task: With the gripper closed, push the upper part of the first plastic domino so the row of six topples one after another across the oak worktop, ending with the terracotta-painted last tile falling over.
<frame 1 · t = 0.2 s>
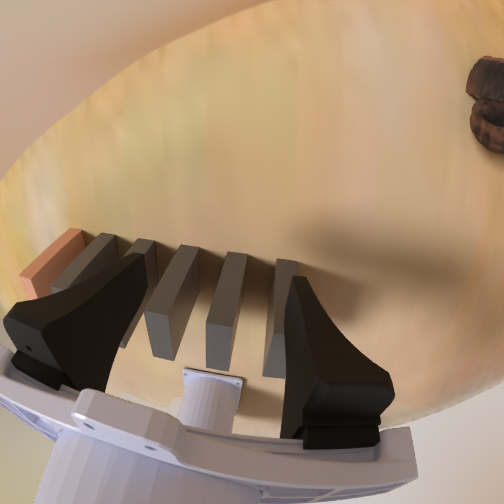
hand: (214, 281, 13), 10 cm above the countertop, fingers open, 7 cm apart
domino 4: (148, 262, 26), on the countertop
domino 3: (190, 269, 26), on the countertop
domino 6: (80, 249, 26), on the countertop
domino 5: (111, 255, 26), on the countertop
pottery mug: (492, 111, 15), on the countertop
domino 1: (281, 282, 25), on the countertop
domino 2: (235, 276, 26), on the countertop
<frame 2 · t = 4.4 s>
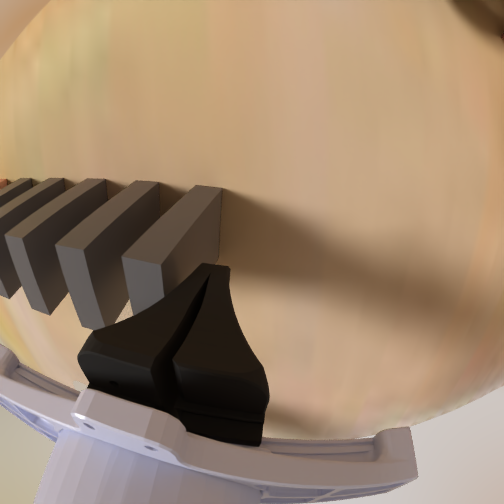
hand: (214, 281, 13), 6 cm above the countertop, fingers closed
domino 4: (60, 207, 19), on the countertop
domino 3: (99, 210, 19), on the countertop
domino 6: (6, 203, 19), on the countertop
domino 5: (30, 204, 19), on the countertop
domino 1: (207, 223, 18), on the countertop
domino 2: (149, 215, 18), on the countertop
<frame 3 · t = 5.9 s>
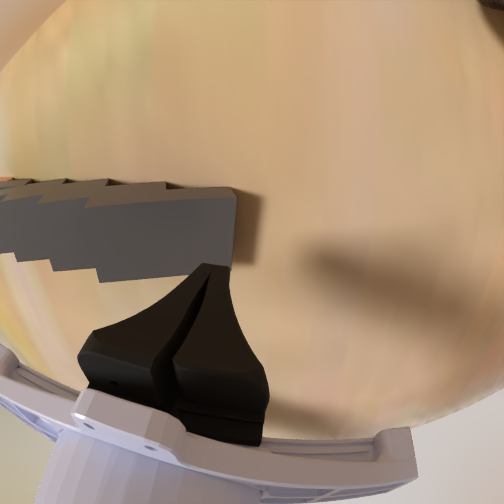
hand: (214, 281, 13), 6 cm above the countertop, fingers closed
domino 4: (68, 212, 18), point 1 cm above the countertop, tilted 67°, touching domino 3
domino 3: (110, 216, 18), point 1 cm above the countertop, tilted 66°, touching domino 2, domino 4
domino 5: (31, 210, 18), point 1 cm above the countertop, tilted 73°, touching domino 6
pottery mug: (496, 0, 6), on the countertop
domino 1: (230, 229, 18), point 1 cm above the countertop, tilted 66°, touching domino 2
domino 2: (166, 222, 18), point 1 cm above the countertop, tilted 67°, touching domino 1, domino 3
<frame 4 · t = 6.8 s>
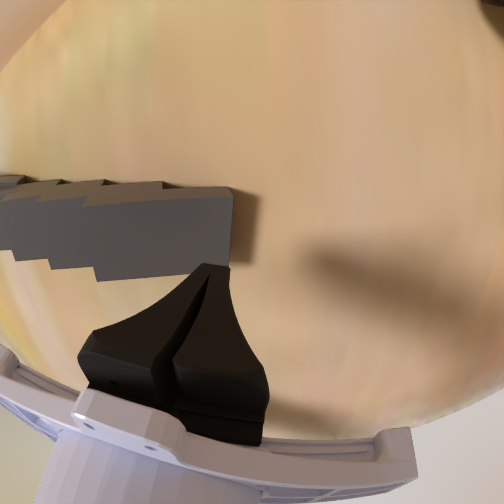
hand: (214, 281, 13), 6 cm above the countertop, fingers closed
domino 4: (62, 212, 18), point 1 cm above the countertop, tilted 69°, touching domino 3, domino 5
domino 3: (106, 216, 18), point 1 cm above the countertop, tilted 68°, touching domino 2, domino 4
domino 5: (23, 206, 18), point 1 cm above the countertop, tilted 69°, touching domino 4, domino 6
domino 1: (227, 229, 18), point 1 cm above the countertop, tilted 67°, touching domino 2
domino 2: (163, 221, 18), point 1 cm above the countertop, tilted 68°, touching domino 1, domino 3
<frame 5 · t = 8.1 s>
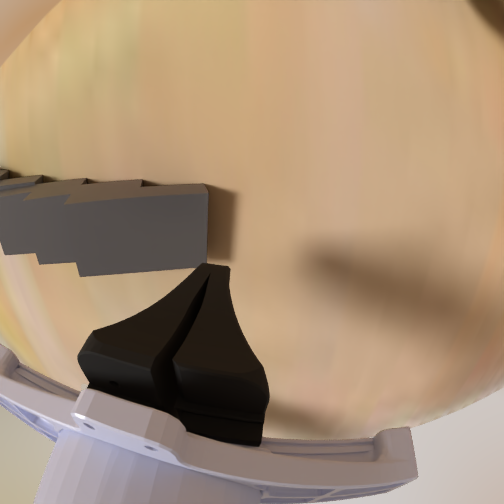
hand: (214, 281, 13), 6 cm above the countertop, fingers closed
domino 4: (42, 207, 18), point 1 cm above the countertop, tilted 69°, touching domino 3, domino 5
domino 3: (87, 214, 18), point 1 cm above the countertop, tilted 69°, touching domino 2, domino 4
domino 5: (4, 199, 17), point 1 cm above the countertop, tilted 70°, touching domino 4, domino 6
domino 1: (205, 225, 18), point 1 cm above the countertop, tilted 67°, touching domino 2
domino 2: (143, 219, 18), point 1 cm above the countertop, tilted 69°, touching domino 1, domino 3
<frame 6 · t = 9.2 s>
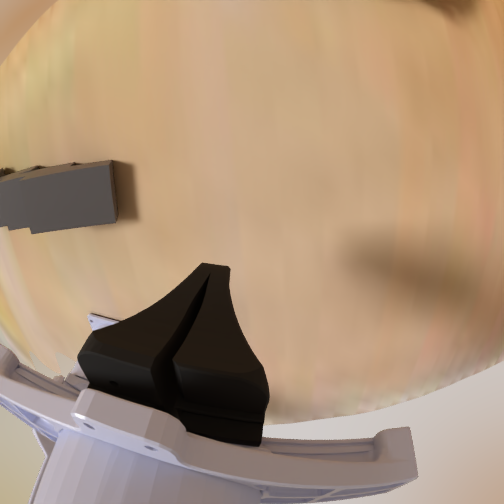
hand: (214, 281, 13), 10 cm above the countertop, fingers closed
domino 3: (39, 191, 21), point 1 cm above the countertop, tilted 71°, touching domino 2, domino 4
domino 1: (113, 191, 21), point 1 cm above the countertop, tilted 68°, touching domino 2
domino 2: (75, 191, 21), point 1 cm above the countertop, tilted 70°, touching domino 1, domino 3
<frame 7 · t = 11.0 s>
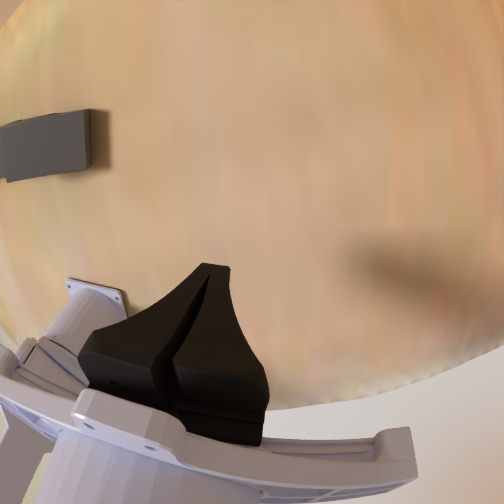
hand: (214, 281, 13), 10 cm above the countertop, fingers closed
domino 1: (87, 138, 19), point 1 cm above the countertop, tilted 68°, touching domino 2
domino 2: (52, 140, 19), point 1 cm above the countertop, tilted 71°, touching domino 1, domino 3
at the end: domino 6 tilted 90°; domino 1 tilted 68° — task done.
